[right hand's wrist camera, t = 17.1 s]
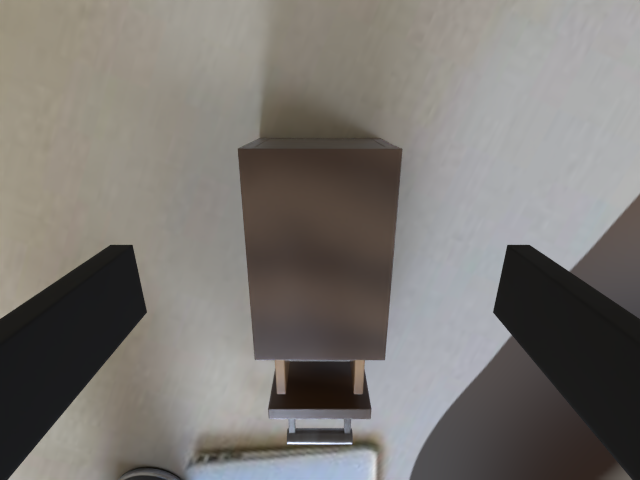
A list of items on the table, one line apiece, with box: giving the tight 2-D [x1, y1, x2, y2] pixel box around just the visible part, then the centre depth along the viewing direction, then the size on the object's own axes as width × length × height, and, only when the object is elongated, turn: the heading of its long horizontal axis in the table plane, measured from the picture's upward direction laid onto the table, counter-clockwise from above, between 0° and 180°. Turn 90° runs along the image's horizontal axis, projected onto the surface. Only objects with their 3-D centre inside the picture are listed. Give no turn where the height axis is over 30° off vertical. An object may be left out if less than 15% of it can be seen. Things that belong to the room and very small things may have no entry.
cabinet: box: [238, 138, 402, 360], centre depth 28 cm, size 16×10×8 cm, turn 0°
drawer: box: [268, 360, 371, 444], centre depth 32 cm, size 20×9×6 cm, turn 0°
